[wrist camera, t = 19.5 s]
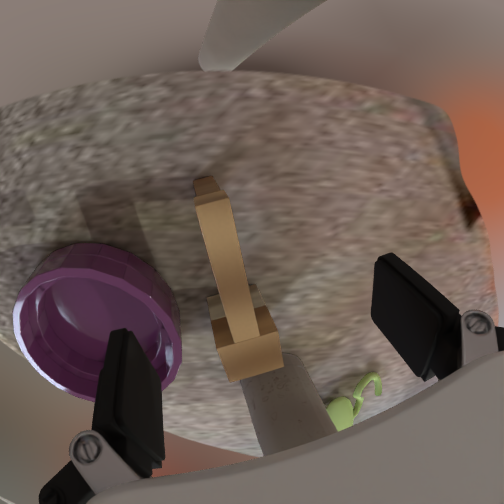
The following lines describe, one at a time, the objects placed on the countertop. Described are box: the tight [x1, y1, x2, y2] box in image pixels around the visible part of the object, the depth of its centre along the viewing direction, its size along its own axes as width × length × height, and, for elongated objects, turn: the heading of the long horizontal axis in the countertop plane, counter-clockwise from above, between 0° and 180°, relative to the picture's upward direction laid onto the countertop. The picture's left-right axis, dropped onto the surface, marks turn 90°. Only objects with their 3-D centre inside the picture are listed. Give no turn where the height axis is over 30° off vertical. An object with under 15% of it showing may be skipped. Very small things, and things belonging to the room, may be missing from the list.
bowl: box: [13, 243, 182, 402], centre depth 24 cm, size 16×16×5 cm
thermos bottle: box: [241, 353, 338, 456], centre depth 22 cm, size 8×8×28 cm
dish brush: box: [193, 176, 284, 382], centre depth 23 cm, size 15×5×7 cm, turn 10°
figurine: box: [324, 372, 382, 432], centre depth 41 cm, size 18×27×6 cm
